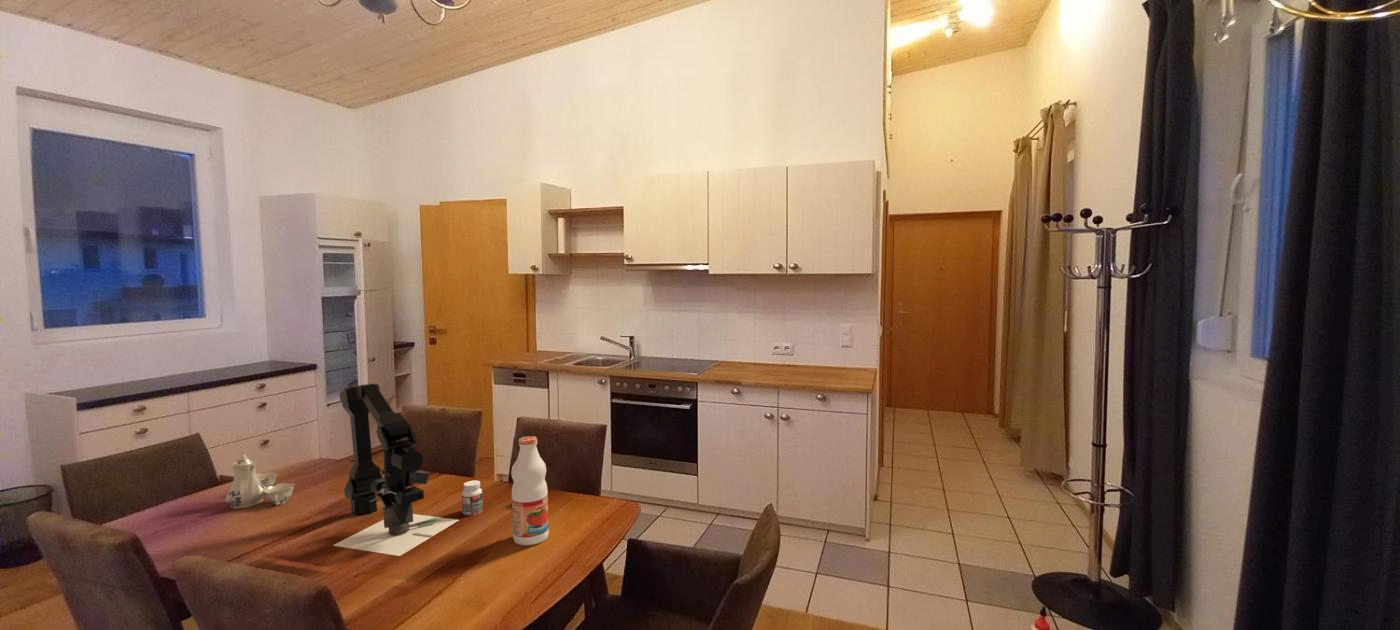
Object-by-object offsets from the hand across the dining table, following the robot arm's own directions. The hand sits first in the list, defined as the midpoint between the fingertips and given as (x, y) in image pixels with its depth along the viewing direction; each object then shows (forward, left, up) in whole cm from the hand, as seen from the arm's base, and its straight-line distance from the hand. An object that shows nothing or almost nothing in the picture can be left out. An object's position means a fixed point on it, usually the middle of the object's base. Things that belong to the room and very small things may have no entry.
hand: (398, 519), depth 157 cm
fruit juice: (+37, +8, -5) cm, 38 cm away
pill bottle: (+11, +17, -5) cm, 21 cm away
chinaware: (-66, +9, -5) cm, 66 cm away
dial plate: (0, 0, -4) cm, 4 cm away
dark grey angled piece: (+2, +2, -3) cm, 4 cm away
